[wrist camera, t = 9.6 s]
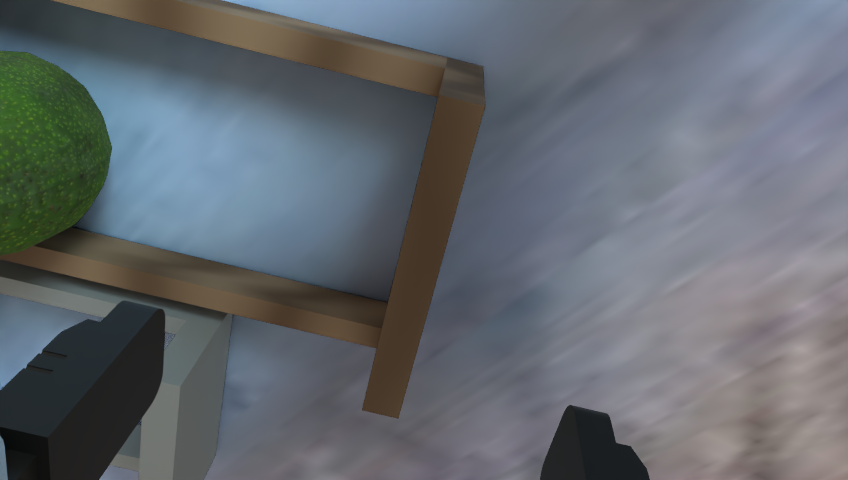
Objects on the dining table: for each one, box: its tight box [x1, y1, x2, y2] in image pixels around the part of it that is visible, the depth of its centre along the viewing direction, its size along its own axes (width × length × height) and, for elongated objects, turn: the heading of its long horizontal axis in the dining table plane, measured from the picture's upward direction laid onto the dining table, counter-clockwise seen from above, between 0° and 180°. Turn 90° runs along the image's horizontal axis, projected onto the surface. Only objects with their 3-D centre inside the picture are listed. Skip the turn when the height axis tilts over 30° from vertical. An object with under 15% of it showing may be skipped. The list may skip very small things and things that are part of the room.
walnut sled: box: [0, 0, 485, 418], centre depth 28 cm, size 24×14×7 cm, turn 77°
